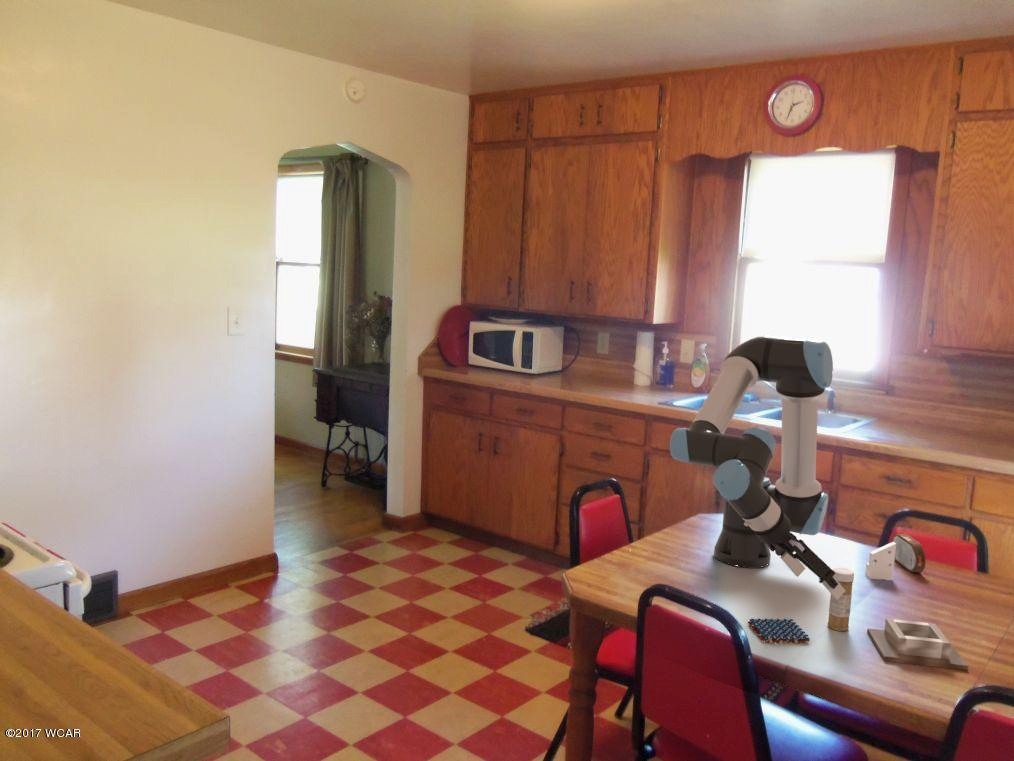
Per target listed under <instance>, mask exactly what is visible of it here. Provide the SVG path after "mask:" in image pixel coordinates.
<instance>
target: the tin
mask: <svg viewBox="0 0 1014 761" xmlns="http://www.w3.org/2000/svg"><path fill="white" fill-rule="evenodd" d="M892 542H895V543H896V550H895V560H894V561H896V562H897V563H898V564H899V565H901V566H902V567H903V568H904V567H905V568H904V569H906V570H907V571H908V570H909V571H908V572H910V573H919V572H920V574H922V573H923V571H924V570H925V567H926V563H927V562H926V561H927V560H926V554H925V550H924V547H923V546H922V544H921V543H920V542H919V541H918V540H916V539H915V538H914V537H912V536H910V535H909V534H907V533H896V534H895V535H893V537H892Z"/></svg>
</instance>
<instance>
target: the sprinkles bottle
mask: <svg viewBox="0 0 1014 761" xmlns="http://www.w3.org/2000/svg"><path fill="white" fill-rule="evenodd" d="M832 570H833V571H834V572H835V574H834V577H835V578H836V580H837V581H838V582H839V583H840V584H841V586H842V587H843V588H844V589H845V590H846V591H845V592H844V593H843V594H842V595H841V596H840V598H839V599H838V600H837V599H835V598H834V597H833V596H832V594H831V593H830V599H829V605H828V606H829V607H828V620H827V621H828V622H827V626H828V627H829V628H830V629H832V630H834V631H839V632H846V631H848V630H849V624H850V614H851V606H852V597H853V596H852V595H853V583H854V579H855V572H854V570H851V569H849V568H845V567H834V568H832Z"/></svg>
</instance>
